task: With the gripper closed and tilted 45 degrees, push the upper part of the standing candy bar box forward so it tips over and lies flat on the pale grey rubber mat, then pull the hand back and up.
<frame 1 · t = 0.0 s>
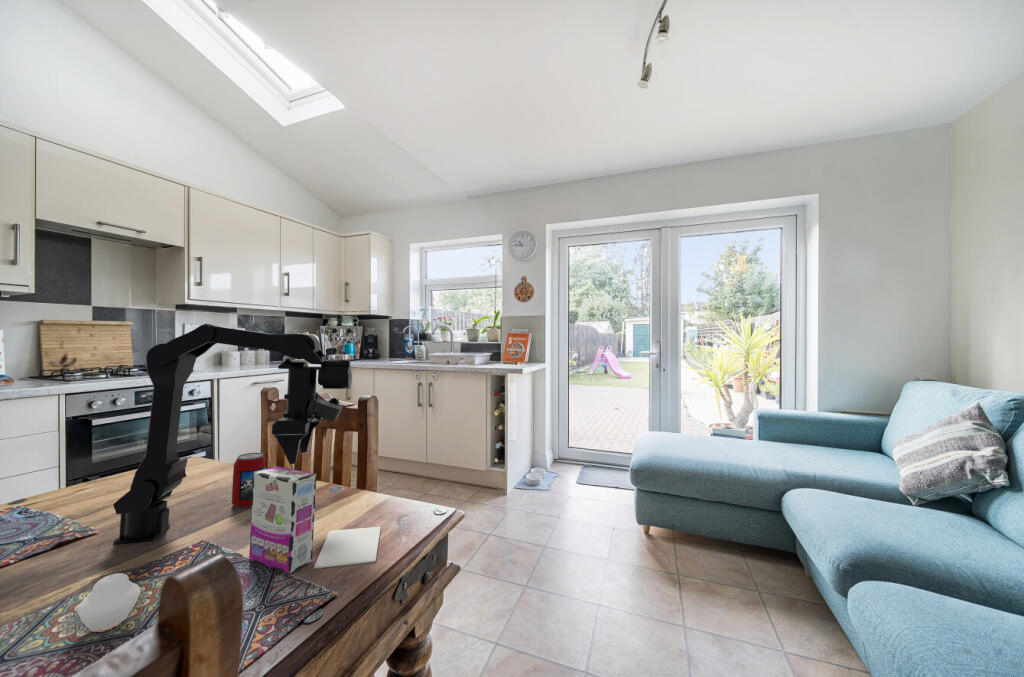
hand: (298, 457, 87), 15 cm above the table, tool pointing down, fingers open, 9 cm apart
white lumpy blob: (108, 626, 54), on the table
beverage can: (247, 504, 96), on the table
candy bar box: (280, 562, 71), on the table
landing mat: (350, 546, 77), on the table
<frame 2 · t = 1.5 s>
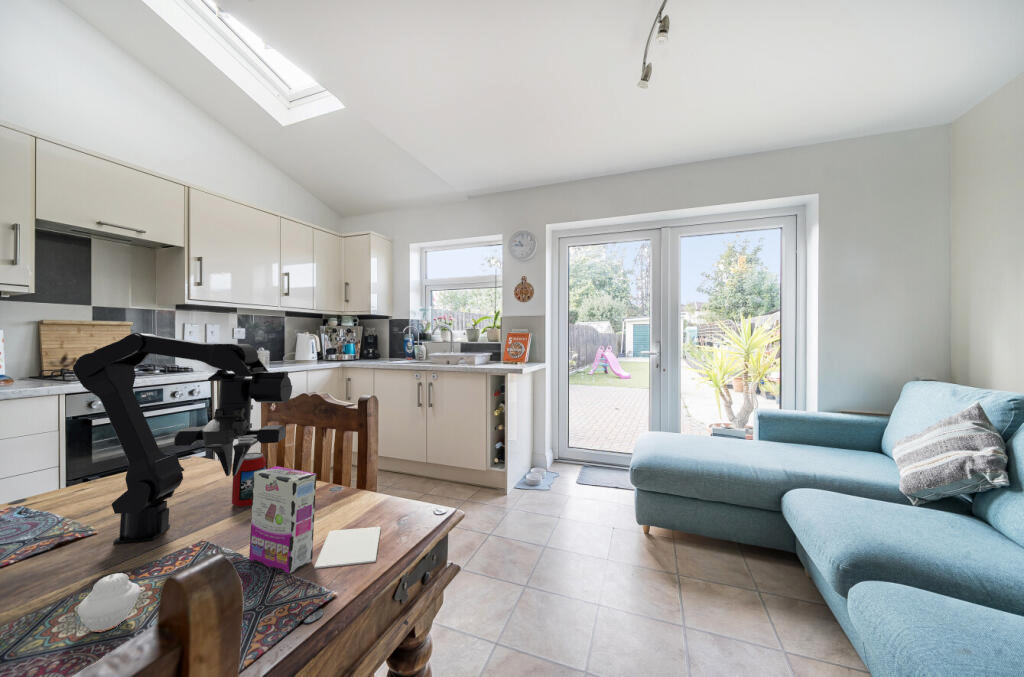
hand: (231, 475, 81), 12 cm above the table, tool pointing down, fingers closed
nothing on the table moved.
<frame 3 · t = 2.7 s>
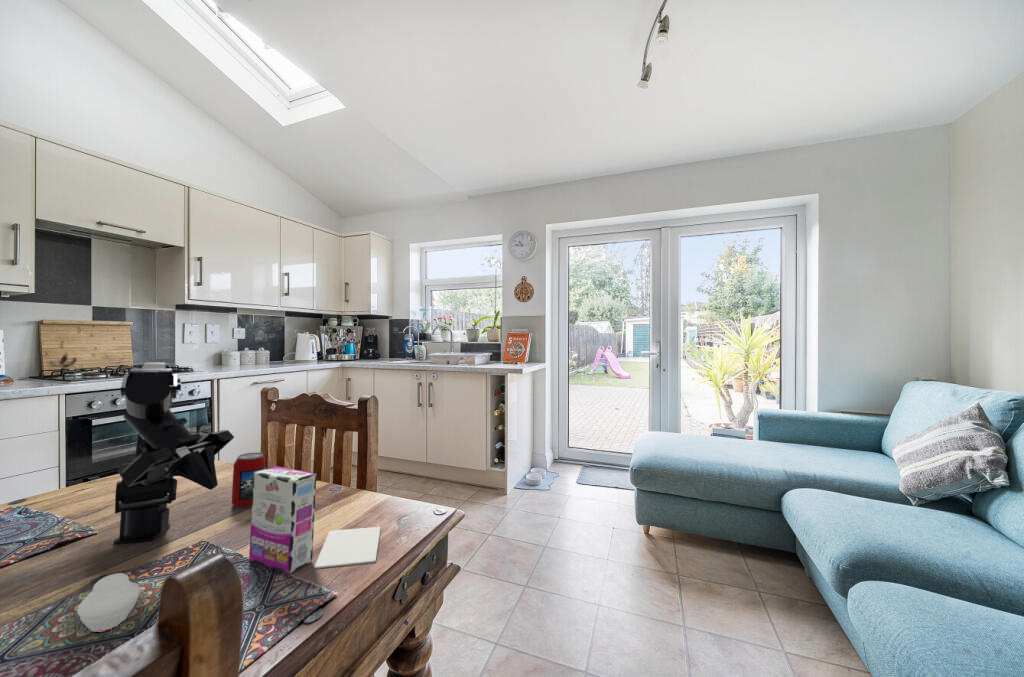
hand: (214, 487, 72), 13 cm above the table, tool tilted 45°, fingers closed
nothing on the table moved.
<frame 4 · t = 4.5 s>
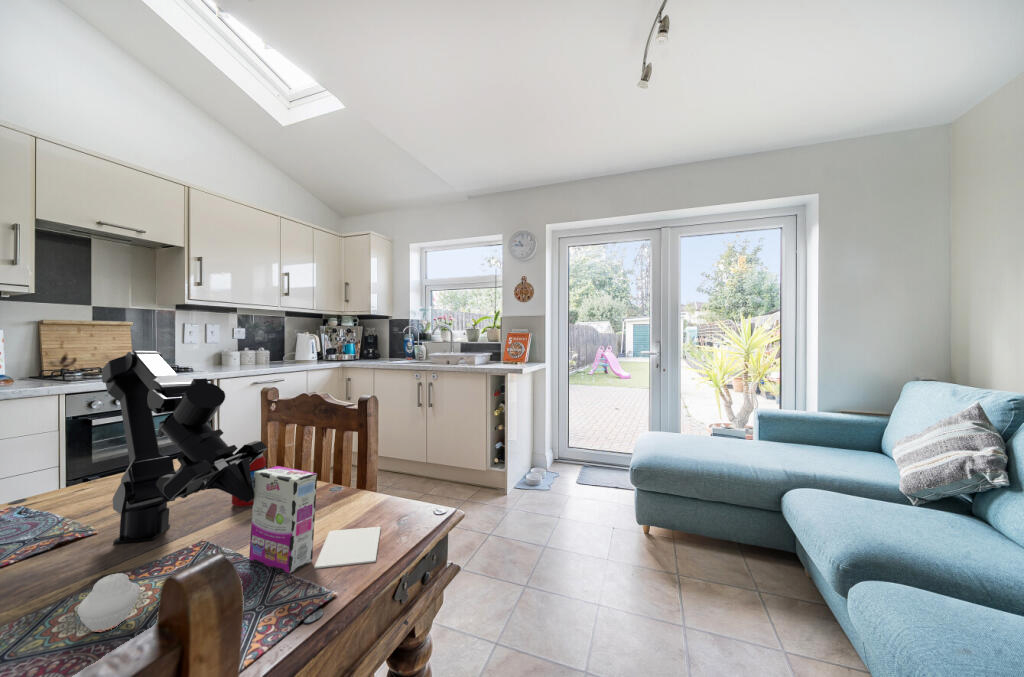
hand: (251, 500, 71), 11 cm above the table, tool tilted 45°, fingers closed
candy bar box: (280, 561, 71), on the table, touching gripper
everything else where it was.
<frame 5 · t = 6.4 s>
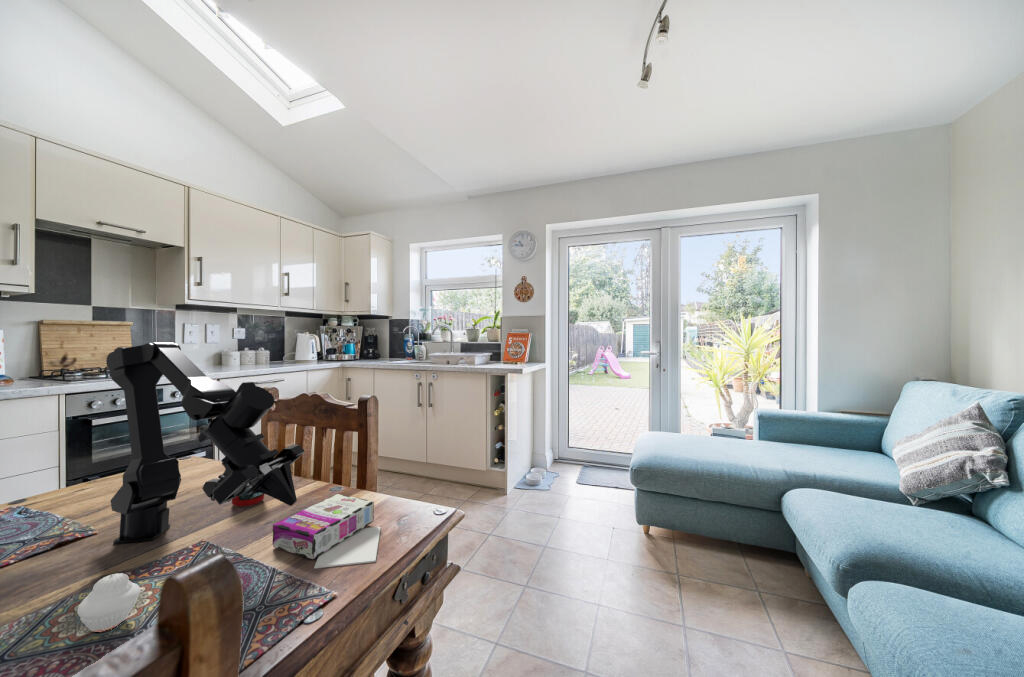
hand: (294, 503, 72), 11 cm above the table, tool tilted 45°, fingers closed
candy bar box: (290, 542, 73), point 2 cm above the table, touching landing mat
everything else where it was.
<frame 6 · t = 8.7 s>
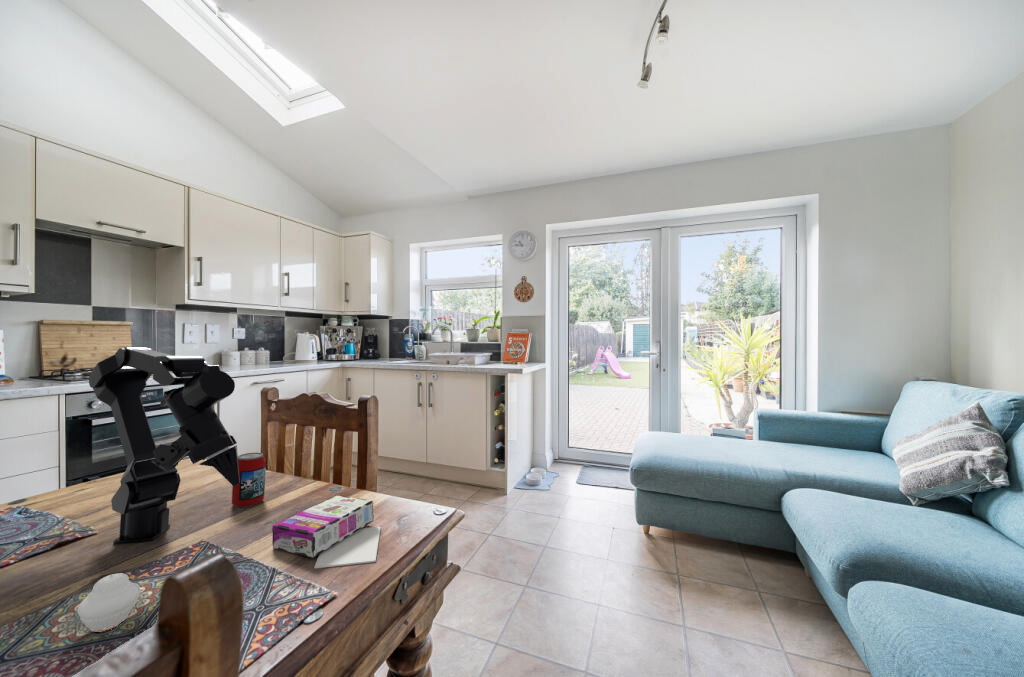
hand: (236, 484, 75), 12 cm above the table, tool tilted 30°, fingers closed
candy bar box: (290, 542, 73), point 2 cm above the table, touching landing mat
everything else where it was.
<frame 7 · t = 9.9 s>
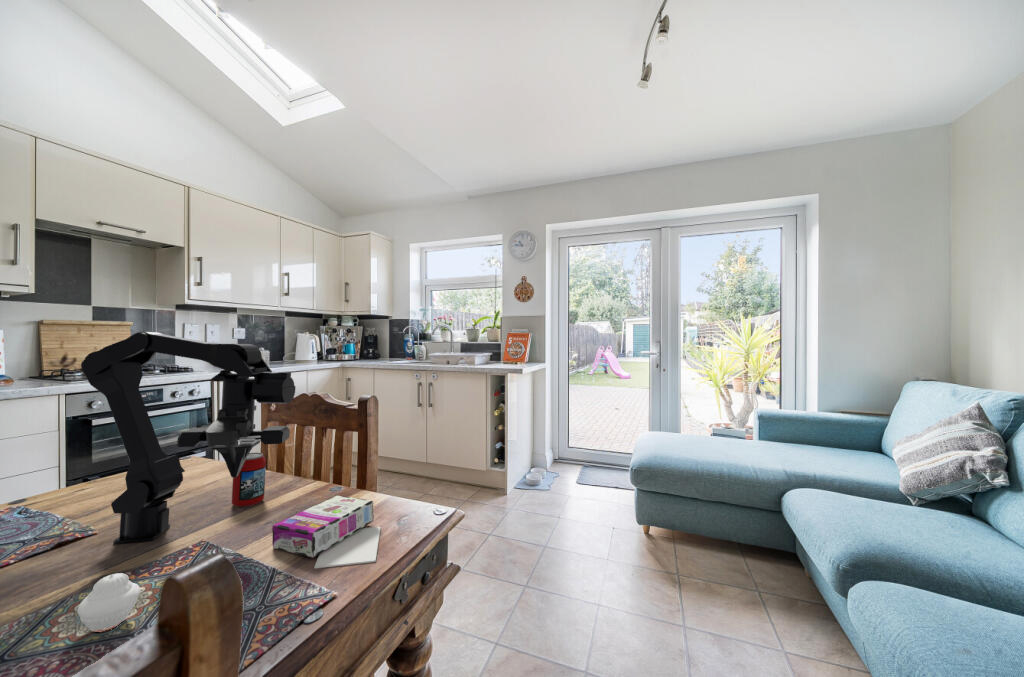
hand: (234, 476, 81), 12 cm above the table, tool pointing down, fingers closed
nothing on the table moved.
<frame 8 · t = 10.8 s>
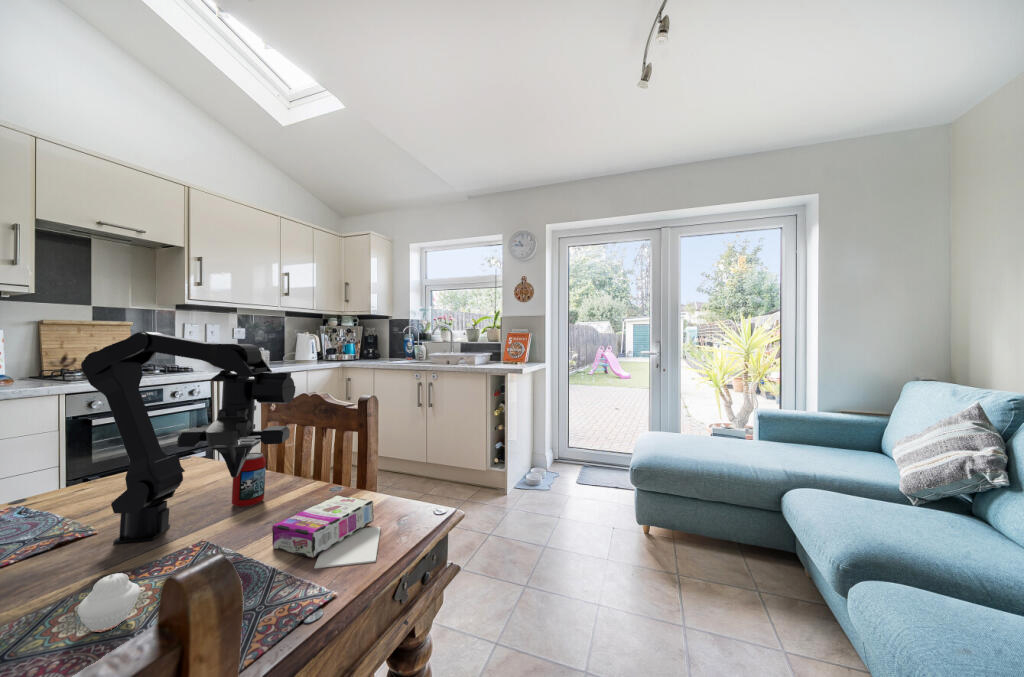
hand: (234, 476, 81), 12 cm above the table, tool pointing down, fingers closed
nothing on the table moved.
at the end: candy bar box tilted 88°; candy bar box inside the target area (6.7 cm from its centre), point 2.5 cm above the table; candy bar box touching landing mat, table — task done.
